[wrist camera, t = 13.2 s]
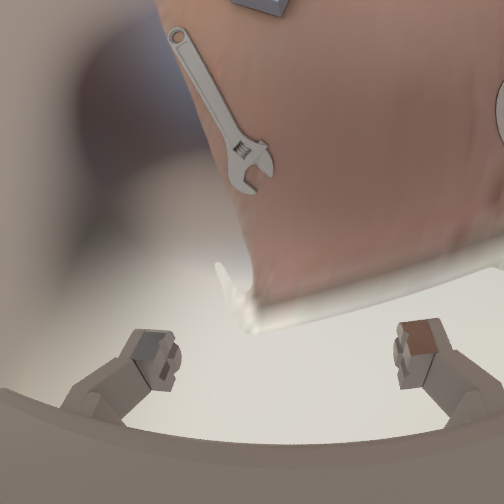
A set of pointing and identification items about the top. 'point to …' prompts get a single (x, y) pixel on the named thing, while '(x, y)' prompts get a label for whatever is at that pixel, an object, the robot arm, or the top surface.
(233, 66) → the top surface
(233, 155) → the adjustable wrench
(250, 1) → the collar
